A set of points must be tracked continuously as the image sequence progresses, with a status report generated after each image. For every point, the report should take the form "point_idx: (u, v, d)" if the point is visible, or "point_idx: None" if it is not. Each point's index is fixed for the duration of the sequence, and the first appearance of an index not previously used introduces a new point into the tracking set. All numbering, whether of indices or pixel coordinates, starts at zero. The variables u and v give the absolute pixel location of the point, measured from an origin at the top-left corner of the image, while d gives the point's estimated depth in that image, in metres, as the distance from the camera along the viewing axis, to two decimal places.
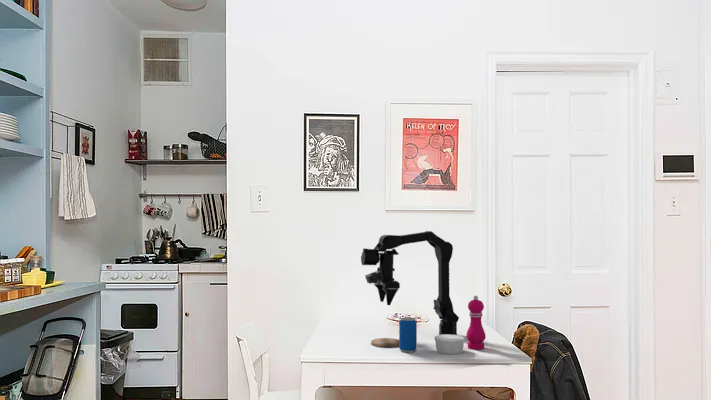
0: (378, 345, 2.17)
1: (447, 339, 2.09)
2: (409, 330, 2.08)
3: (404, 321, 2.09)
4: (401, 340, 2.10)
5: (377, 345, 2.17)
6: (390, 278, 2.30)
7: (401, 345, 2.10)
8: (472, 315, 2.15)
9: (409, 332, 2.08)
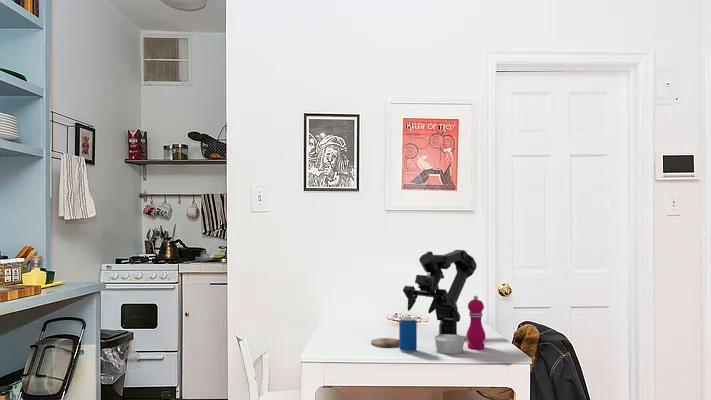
0: (378, 345, 2.17)
1: (447, 339, 2.09)
2: (409, 330, 2.08)
3: (404, 321, 2.09)
4: (401, 340, 2.10)
5: (377, 345, 2.17)
6: (434, 292, 2.23)
7: (401, 345, 2.10)
8: (472, 315, 2.15)
9: (409, 332, 2.08)
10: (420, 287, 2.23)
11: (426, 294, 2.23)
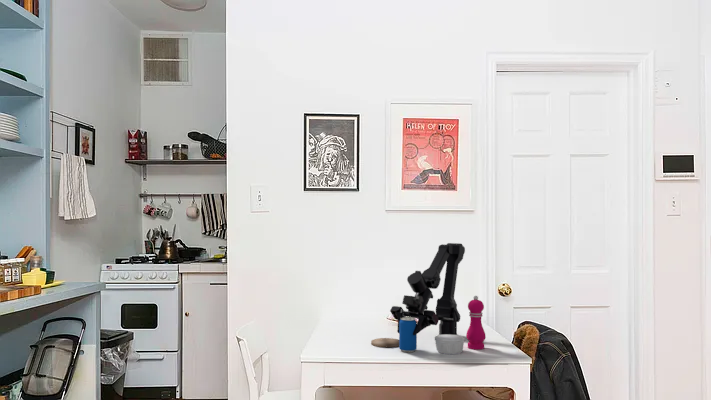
0: (378, 345, 2.17)
1: (447, 339, 2.09)
2: (409, 330, 2.08)
3: (404, 321, 2.09)
4: (401, 340, 2.10)
5: (377, 345, 2.17)
6: (423, 313, 2.16)
7: (401, 345, 2.10)
8: (472, 315, 2.15)
9: (409, 332, 2.08)
10: (408, 308, 2.16)
11: (414, 315, 2.15)
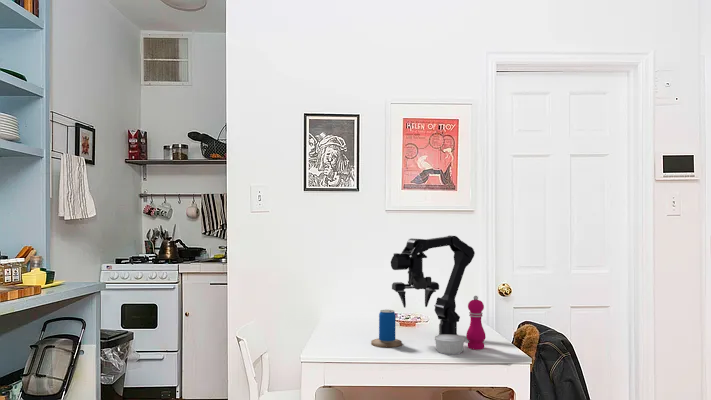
0: (378, 345, 2.17)
1: (447, 339, 2.09)
2: (385, 322, 2.19)
3: (381, 313, 2.21)
4: (379, 330, 2.21)
5: (377, 345, 2.17)
6: None
7: (379, 335, 2.21)
8: (472, 315, 2.15)
9: (385, 323, 2.19)
10: (413, 285, 2.28)
11: None
